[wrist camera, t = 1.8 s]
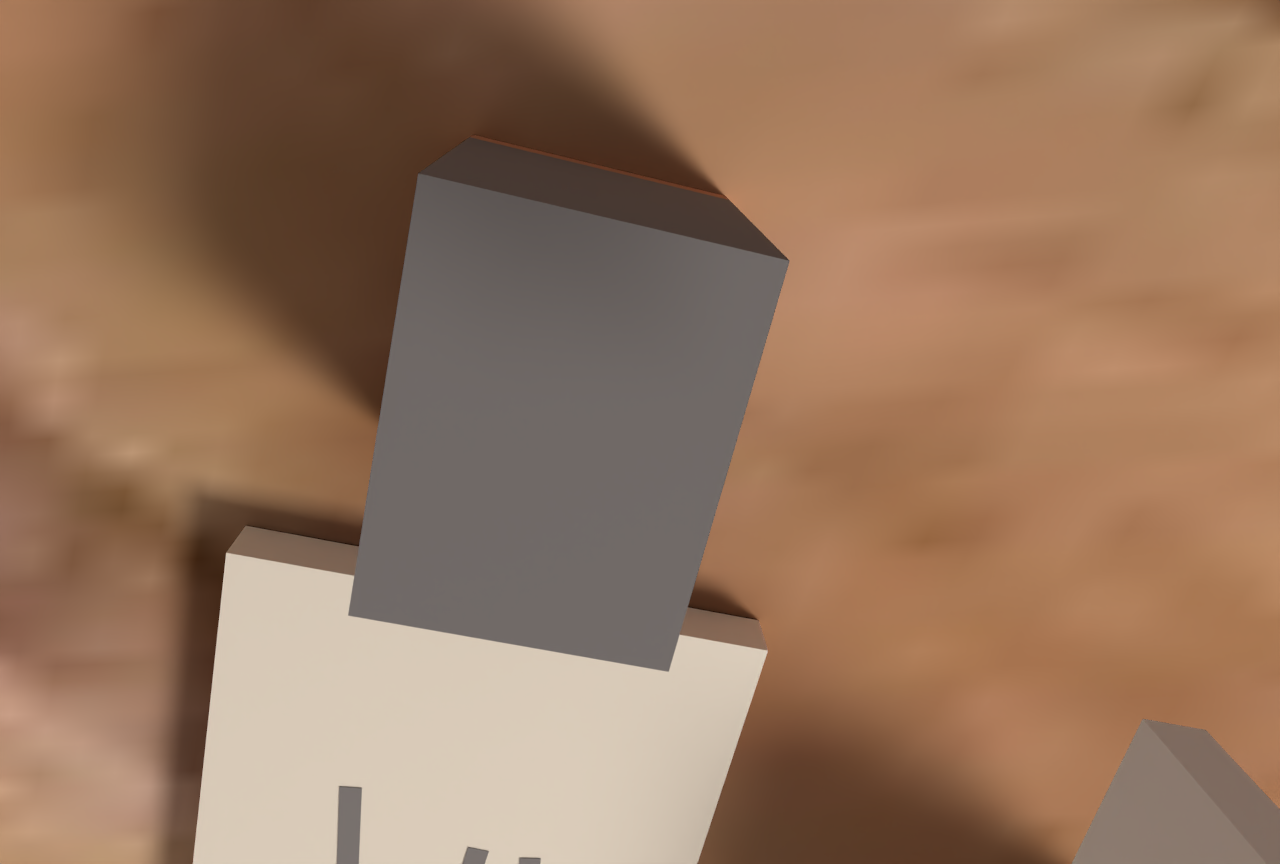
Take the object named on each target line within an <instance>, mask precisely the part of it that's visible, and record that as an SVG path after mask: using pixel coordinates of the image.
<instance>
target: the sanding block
mask: <svg viewBox="0 0 1280 864" xmlns="http://www.w3.org/2000/svg"><path fill="white" fill-rule="evenodd" d="M788 264H789V260H788V259H787V258H786V257H785V256H784V255H783V254H782V253H781V252H780V251H779V250H778V249H777V248H776V247H775V246H774V245H773V244H772V243H771V242H770V241H769V240H768V239H767V238H766V237H765V236H764V235H763V234H762V233H761V232H760V231H759V230H758V229H757V228H756V227H755V226H754V225H753V224H752V223H751V222H750V221H749V220H748V219H747V218H746V216H745V215H744V214H743V213H742V212H741V211H740V210H739V209H738V208H737V207H736V206H735V205H734V204H733V203H732V202H731V201H730V200H729V199H728V198H727V197H726V196H724V195H720V194H716V193H712V192H708V191H704V190H699V189H695V188H691V187H687V186H683V185H679V184H675V183H671V182H666V181H662V180H658V179H654V178H650V177H646V176H642V175H638V174H633V173H629V172H625V171H621V170H617V169H613V168H609V167H605V166H600V165H596V164H592V163H588V162H584V161H580V160H576V159H572V158H568V157H563V156H559V155H555V154H551V153H547V152H543V151H539V150H535V149H530V148H526V147H522V146H518V145H514V144H510V143H506V142H502V141H497V140H493V139H489V138H485V137H481V136H477V135H472V136H471V137H469V138H468V139H466V140H465V141H464V142H462V143H461V144H459V145H458V146H456V147H455V148H454V149H452V150H451V151H449V152H448V153H446V154H445V155H444V156H442V157H441V158H439V159H438V160H436V161H435V162H434V163H432V164H431V165H429V166H428V167H426V168H425V169H424V170H422V171H421V172H419V173H418V178H417V185H416V191H415V197H414V203H413V210H412V216H411V222H410V229H409V235H408V241H407V247H406V254H405V260H404V266H403V273H402V279H401V285H400V292H399V298H398V304H397V310H396V317H395V323H394V329H393V336H392V342H391V348H390V354H389V361H388V367H387V373H386V380H385V386H384V392H383V399H382V405H381V411H380V417H379V424H378V430H377V436H376V443H375V449H374V455H373V461H372V468H371V474H370V480H369V487H368V493H367V499H366V506H365V512H364V518H363V524H362V531H361V537H360V543H359V550H358V556H357V562H356V568H355V575H354V581H353V587H352V594H351V600H350V606H349V613H348V616H353V617H359V618H365V619H370V620H376V621H382V622H387V623H393V624H399V625H404V626H410V627H416V628H422V629H427V630H433V631H439V632H444V633H450V634H456V635H461V636H467V637H473V638H479V639H484V640H490V641H496V642H501V643H507V644H513V645H518V646H524V647H530V648H535V649H541V650H547V651H553V652H558V653H564V654H570V655H575V656H581V657H587V658H592V659H598V660H604V661H610V662H615V663H621V664H627V665H632V666H638V667H644V668H649V669H655V670H661V671H667V672H669V669H670V666H671V662H672V659H673V655H674V652H675V649H676V645H677V642H678V638H679V635H680V632H681V628H682V625H683V621H684V618H685V615H686V611H687V608H688V604H689V601H690V598H691V594H692V591H693V587H694V584H695V581H696V577H697V574H698V570H699V567H700V564H701V560H702V557H703V553H704V550H705V547H706V543H707V540H708V536H709V533H710V530H711V526H712V523H713V519H714V516H715V513H716V509H717V506H718V502H719V499H720V496H721V492H722V489H723V485H724V482H725V479H726V475H727V472H728V468H729V465H730V462H731V458H732V455H733V451H734V448H735V445H736V441H737V438H738V434H739V431H740V428H741V424H742V421H743V417H744V414H745V411H746V407H747V404H748V400H749V397H750V394H751V390H752V387H753V383H754V380H755V377H756V373H757V370H758V366H759V363H760V360H761V356H762V353H763V349H764V346H765V343H766V339H767V336H768V332H769V329H770V325H771V322H772V319H773V315H774V312H775V308H776V305H777V302H778V298H779V295H780V291H781V288H782V285H783V281H784V278H785V274H786V271H787V268H788Z"/></svg>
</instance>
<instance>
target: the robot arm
mask: <svg viewBox="0 0 1280 864" xmlns="http://www.w3.org/2000/svg"><path fill="white" fill-rule="evenodd" d="M1072 864H1280V809H1279V808H1278V807H1277V806H1276V805H1275V804H1274V803H1273V802H1272V801H1271V800H1270V798H1269V797H1268V796H1267V795H1266V794H1265V793H1264V792H1263V791H1262V790H1261V789H1260V788H1259V787H1258V786H1257V785H1256V783H1255V782H1254V781H1253V780H1252V779H1251V778H1250V777H1249V776H1248V775H1247V774H1246V773H1245V772H1244V771H1243V770H1242V768H1241V767H1240V766H1239V765H1238V764H1237V763H1236V762H1235V761H1234V760H1233V759H1232V758H1231V757H1230V756H1229V755H1228V754H1227V752H1226V751H1225V750H1224V749H1223V748H1222V747H1221V746H1220V745H1219V744H1218V743H1217V742H1216V741H1215V740H1214V739H1213V737H1212V736H1211V735H1210V734H1209V733H1208V732H1207V731H1206V730H1203V729H1197V728H1191V727H1186V726H1180V725H1175V724H1169V723H1163V722H1158V721H1152V720H1146V719H1142V722H1141V724H1140V726H1139V728H1138V730H1137V732H1136V734H1135V736H1134V738H1133V740H1132V742H1131V744H1130V746H1129V748H1128V750H1127V752H1126V754H1125V756H1124V758H1123V760H1122V762H1121V764H1120V766H1119V768H1118V770H1117V772H1116V774H1115V776H1114V779H1113V781H1112V783H1111V785H1110V787H1109V789H1108V791H1107V793H1106V795H1105V797H1104V799H1103V801H1102V803H1101V805H1100V807H1099V809H1098V811H1097V813H1096V815H1095V817H1094V819H1093V821H1092V823H1091V825H1090V827H1089V829H1088V831H1087V833H1086V836H1085V838H1084V840H1083V842H1082V844H1081V846H1080V848H1079V850H1078V852H1077V854H1076V856H1075V858H1074V860H1073V862H1072Z"/></svg>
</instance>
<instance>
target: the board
mask: <svg viewBox="0 0 1280 864" xmlns="http://www.w3.org/2000/svg"><path fill="white" fill-rule="evenodd" d="M358 550H359V546H353V545H348V544H343V543H337V542H332V541H326V540H321V539H316V538H310V537H305V536H299V535H294V534H288V533H283V532H278V531H272V530H267V529H261V528H256V527H251V526H245V527H244V529H243V530H242V531H241V533H240V534H239V536H238V537H237V538H236V540H235V541H234V543H233V544H232V545H231V547H230V548H229V549H228V551H227V552H226V559H225V568H224V577H223V587H222V596H221V605H220V615H219V624H218V633H217V643H216V652H215V661H214V671H213V680H212V689H211V699H210V708H209V717H208V727H207V736H206V745H205V755H204V764H203V773H202V783H201V792H200V801H199V811H198V820H197V829H196V839H195V848H194V857H193V864H697V863H698V860H699V857H700V854H701V851H702V848H703V845H704V842H705V839H706V836H707V833H708V830H709V827H710V824H711V821H712V818H713V815H714V812H715V809H716V806H717V803H718V800H719V797H720V794H721V791H722V788H723V785H724V782H725V779H726V776H727V773H728V770H729V767H730V764H731V761H732V758H733V755H734V752H735V749H736V746H737V742H738V739H739V736H740V733H741V730H742V727H743V724H744V721H745V718H746V715H747V712H748V709H749V706H750V703H751V700H752V697H753V694H754V691H755V688H756V685H757V682H758V679H759V676H760V673H761V670H762V667H763V664H764V661H765V658H766V655H767V652H768V649H767V646H766V643H765V639H764V636H763V633H762V630H761V626H760V623H759V620H754V619H748V618H743V617H738V616H732V615H727V614H721V613H716V612H711V611H705V610H700V609H694V608H689V607H688V608H687V611H686V615H685V618H684V621H683V625H682V628H681V632H680V635H679V638H678V642H677V645H676V649H675V652H674V655H673V659H672V662H671V666H670V669H669V672H667V671H661V670H655V669H649V668H644V667H638V666H632V665H627V664H621V663H615V662H610V661H604V660H598V659H592V658H587V657H581V656H575V655H570V654H564V653H558V652H553V651H547V650H541V649H535V648H530V647H524V646H518V645H513V644H507V643H501V642H496V641H490V640H484V639H479V638H473V637H467V636H461V635H456V634H450V633H444V632H439V631H433V630H427V629H422V628H416V627H410V626H404V625H399V624H393V623H387V622H382V621H376V620H370V619H365V618H359V617H353V616H348V613H349V606H350V600H351V594H352V587H353V581H354V575H355V568H356V562H357V556H358Z"/></svg>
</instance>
